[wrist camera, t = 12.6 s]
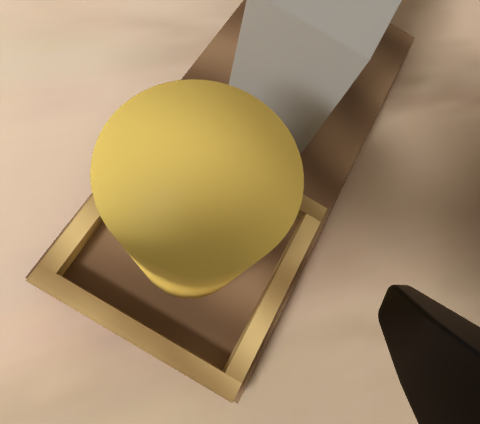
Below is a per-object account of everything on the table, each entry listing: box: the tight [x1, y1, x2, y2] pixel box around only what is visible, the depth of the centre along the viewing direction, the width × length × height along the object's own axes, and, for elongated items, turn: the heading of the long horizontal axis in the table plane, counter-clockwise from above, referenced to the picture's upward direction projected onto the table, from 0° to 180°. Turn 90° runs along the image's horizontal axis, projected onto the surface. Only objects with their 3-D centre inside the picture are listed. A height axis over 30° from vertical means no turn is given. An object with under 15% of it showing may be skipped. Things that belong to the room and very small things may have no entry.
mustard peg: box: [90, 79, 304, 299], centre depth 15 cm, size 6×6×11 cm
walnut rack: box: [26, 0, 414, 403], centre depth 23 cm, size 30×13×2 cm, turn 151°
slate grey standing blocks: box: [229, 0, 402, 154], centre depth 21 cm, size 14×6×9 cm, turn 151°
